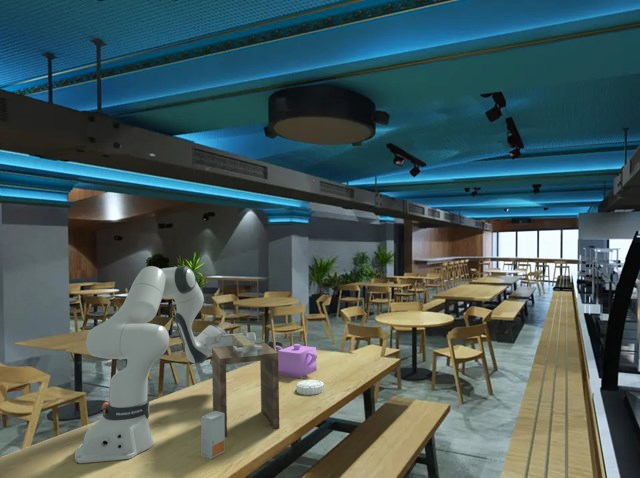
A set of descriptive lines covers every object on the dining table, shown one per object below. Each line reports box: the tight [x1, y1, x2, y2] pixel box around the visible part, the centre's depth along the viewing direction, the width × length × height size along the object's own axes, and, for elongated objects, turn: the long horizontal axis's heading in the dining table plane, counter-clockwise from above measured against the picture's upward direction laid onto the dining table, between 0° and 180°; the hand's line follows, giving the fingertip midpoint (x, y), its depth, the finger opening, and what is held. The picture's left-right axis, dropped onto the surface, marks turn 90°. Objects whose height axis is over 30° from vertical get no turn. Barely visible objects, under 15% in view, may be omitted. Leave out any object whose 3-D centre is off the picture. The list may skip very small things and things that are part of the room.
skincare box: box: [200, 411, 226, 460], centre depth 140 cm, size 6×4×12 cm
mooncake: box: [295, 379, 325, 396], centre depth 201 cm, size 12×12×4 cm
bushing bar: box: [231, 333, 255, 348], centre depth 166 cm, size 4×22×4 cm, turn 21°
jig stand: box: [211, 342, 280, 438], centre depth 164 cm, size 20×19×29 cm
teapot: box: [275, 343, 318, 379], centre depth 230 cm, size 15×25×14 cm, turn 59°
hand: (233, 333), depth 183 cm, fingers open, 8 cm apart
